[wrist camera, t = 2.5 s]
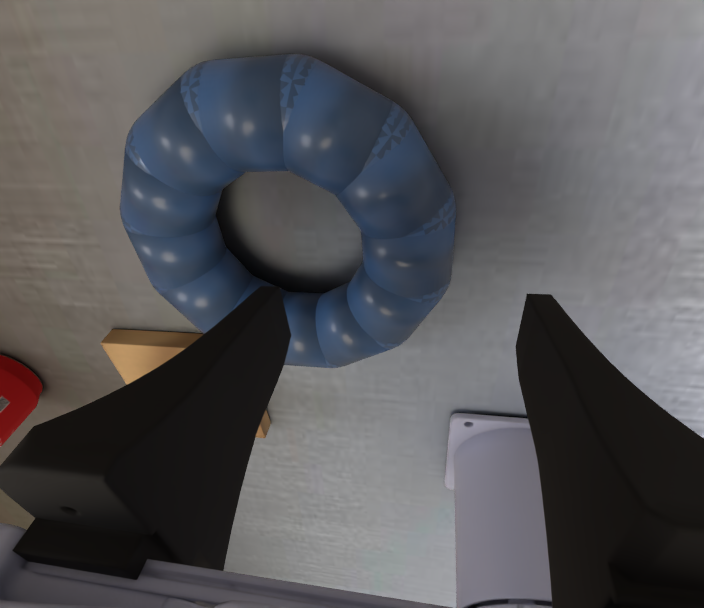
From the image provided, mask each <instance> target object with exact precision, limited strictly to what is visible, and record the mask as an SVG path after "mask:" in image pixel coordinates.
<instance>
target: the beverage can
mask: <svg viewBox="0 0 704 608" xmlns="http://www.w3.org/2000/svg"><path fill="white" fill-rule="evenodd" d="M42 390H43V384H42V382H41V380H40V379H39V377H38V376H37V375H36V374H35V373H34V372H33V371H32V370H31V369H30V368H28V367H27V366H25V365H24V364H22V363H21V362H19V361H17V360H15V359H13V358H11V357H8V356H6V355H2V354H0V447H1V446H2V445H3V443H4V442H5V441H6V440H7V439H8V438H9V437H10V436H11V434H12V433H13V432H14V431H15V430H16V429H17V428H18V427H19V425H20V424H21V423H22V422H23V421H24V420H25V419H26V418H27V416H28V415H29V414H30V413H31V412H32V411H33V410H34V409H35V407H36V406H37V404H38V399H39V396H40V393H41V392H42Z"/></svg>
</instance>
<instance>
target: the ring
mask: <svg viewBox="0 0 704 608" xmlns="http://www.w3.org/2000/svg"><path fill="white" fill-rule="evenodd" d="M267 171H290V172H292V173H294V174H296V175H298V176H300V177H302V178H304V179H306V180H307V181H309V182H311V183H313V184H315V185H317V186H319V187H321V188H323V189H325V190H327V191H329V192H331V193H333V194H335V195H336V197H337V198H338V200H339V201H340V202H341V204H342V205H343V206H344V208H345V209H346V211H347V212H348V213H349V215H350V216H351V217H352V219H353V220H354V222H355V223H356V224H357V226H358V227H359V228H360V230H361V237H362V249H363V262H362V263H361V265H360V267H359V268H358V270H357V272H356V273H355V275H354V277H353V278H352V280H351V281H350V282H348V283H346V284H343V285H341V286H339V287H337V288H335V289H333V290H331V291H329V292H326V293H300V292H287V291H285V290H283V289H281V288H280V291H281V295H282V299H283V303H284V307H285V311H286V315H287V319H288V323H289V327H290V332H291V339H290V343H289V347H288V352H287V355H286V359H285V363H284V365H293V366H308V367H324V368H338V367H342V366H346V365H349V364H351V363H354V362H357V361H360V360H362V359H365V358H368V357H371V356H374V355H376V354H379V353H382V352H385V351H387V350H390V349H393V348H395V347H397V346H399V345H401V344H402V343H403V342H404V341H406V340H407V339H408V338H409V337H410V335H411V334H412V333H413V332H414V330H415V329H416V328H417V327H418V326H419V324H420V323H421V322H422V321H423V320H424V318H425V317H426V316H427V315H428V314H429V312H430V311H431V310H432V309H433V308H434V306H435V305H436V304H437V303H438V302H439V300H440V299H441V298H442V297H443V295H444V294H445V292H446V290H447V288H448V286H449V284H450V280H451V275H452V262H453V248H454V234H455V220H456V203H455V198H454V194H453V191H452V189H451V187H450V185H449V184H448V182H447V180H446V178H445V177H444V175H443V173H442V171H441V170H440V168H439V166H438V164H437V163H436V161H435V159H434V157H433V155H432V154H431V152H430V150H429V148H428V147H427V145H426V143H425V141H424V140H423V138H422V136H421V134H420V133H419V131H418V129H417V127H416V126H415V124H414V122H413V120H412V119H411V117H410V116H409V115H408V113H407V112H406V111H405V110H404V109H403V108H402V107H400V106H399V105H398V104H396V103H395V102H393V101H392V100H390V99H388V98H386V97H385V96H383V95H381V94H379V93H377V92H376V91H374V90H372V89H370V88H369V87H367V86H365V85H363V84H361V83H360V82H358V81H356V80H354V79H352V78H351V77H349V76H347V75H345V74H344V73H342V72H340V71H338V70H336V69H335V68H333V67H331V66H329V65H327V64H326V63H324V62H322V61H320V60H318V59H316V58H314V57H311V56H307V55H303V54H283V55H270V56H256V57H243V58H229V59H215V60H209V61H204V62H201V63H199V64H196V65H194V66H193V67H191V68H190V69H189V70H188V71H186V72H185V73H184V74H183V75H182V76H181V77H180V78H179V79H178V80H177V81H176V82H175V83H174V84H173V85H172V86H171V87H170V88H169V89H167V90H166V91H165V92H164V93H163V94H162V95H161V96H160V97H159V98H158V99H157V100H156V101H155V102H154V103H153V104H152V105H151V106H150V107H149V108H148V109H147V110H146V111H145V112H144V113H143V114H142V115H141V116H140V117H139V118H138V119H137V120H136V122H135V123H134V124H133V126H132V127H131V129H130V131H129V133H128V136H127V140H126V146H125V157H124V168H123V179H122V190H121V202H120V214H121V219H122V222H123V225H124V227H125V230H126V232H127V234H128V236H129V238H130V240H131V242H132V244H133V246H134V248H135V251H136V253H137V255H138V257H139V259H140V261H141V263H142V265H143V267H144V270H145V272H146V274H147V276H148V278H149V280H150V282H151V284H152V285H153V287H154V288H155V289H156V290H157V291H158V292H159V294H161V295H162V296H163V297H164V298H165V299H166V300H167V301H168V302H169V303H170V304H172V305H173V306H174V307H175V308H176V309H177V310H178V311H179V312H180V313H182V314H183V315H184V316H185V317H186V318H187V319H188V320H189V321H190V322H191V323H193V324H194V325H195V326H196V327H197V328H198V329H199V330H200V331H201V332H202V333H204V334H205V333H206V332H207V331H209V330H210V329H211V328H212V327H214V326H215V325H216V324H217V323H218V322H220V321H221V320H222V319H223V318H224V317H225V316H227V315H228V314H229V313H230V312H231V311H232V310H234V309H235V308H236V307H237V306H238V305H239V304H240V303H242V302H243V301H244V300H245V299H246V298H247V297H248V296H250V295H251V294H252V293H253V292H254V291H255V290H257V289H258V288H259V287H260V286H274V285H272V284H270V283H268V282H266V281H263V280H261V279H259V278H257V277H255V276H253V275H252V274H251V273H250V272H249V271H248V270H247V269H246V268H245V267H244V266H243V265H242V264H241V263H240V262H239V260H238V259H237V258H236V257H235V256H234V255H233V254H232V253H231V252H230V251H229V250H228V249H227V248H226V246H225V243H224V240H223V237H222V233H221V230H220V227H219V224H218V221H217V218H216V211H217V208H218V204H219V200H220V197H221V193H222V189H223V188H225V187H226V186H227V185H229V184H230V183H232V182H233V181H234V180H236V179H237V178H238V177H240V176H241V175H243V174H244V173H245V172H267Z"/></svg>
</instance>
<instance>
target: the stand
mask: <svg viewBox="0 0 704 608" xmlns="http://www.w3.org/2000/svg"><path fill="white" fill-rule="evenodd" d="M202 335H204V334H198V333H179V332H160V331H141V330H122V329H112V330H111V331H110V333H109V334H108V335H107V336H106V337H105V338H104V339H103V341H102V342H101V345H102V346H103V348H104V350H105V351H106V353H107V354H108V356H109V357H110V359H111V361H112V362H113V364H114V365H115V367H116V368H117V370H118V372H119V373H120V375H121V376H122V378H123V379H124V381H125V382H126V384H127V385H128V384H129V383H131V382H133V381H135V380H136V379H138V378H140V377H142V376H143V375H145V374H147V373H149V372H150V371H152V370H154V369H155V368H157V367H159V366H160V365H162V364H163V363H165V362H166V361H168V360H169V359H171V358H172V357H174V356H175V355H177V354H178V353H180V352H181V351H183V350H184V349H185V348H187V347H188V346H189V345H191V344H192V343H193V342H195V341H196V340H197V339H198V338H200V337H201V336H202ZM270 424H271V422H270V419H269V416H268V413H267V410H265V413H264V415H263V418H262V420H261V423H260V425H259V428H258V431H257V434H256V437H258V438H266V435H267V432H268V429H269V427H270Z"/></svg>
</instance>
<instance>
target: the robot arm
mask: <svg viewBox="0 0 704 608" xmlns="http://www.w3.org/2000/svg"><path fill="white" fill-rule="evenodd" d="M290 339H291V332H290V327H289V323H288V319H287V315H286V311H285V307H284V303H283V299H282V295H281V291H280V287H277V286H260V287H259V288H258V289H257V290H255V291H254V292H253V293H252V294H251V295H250V296H248V297H247V298H246V299H245V300H244V301H243V302H242V303H240V304H239V305H238V306H237V307H236V308H235V309H234V310H232V311H231V312H230V313H229V314H228V315H227V316H225V317H224V318H223V319H222V320H221V321H220V322H218V323H217V324H216V325H215V326H214V327H212V328H211V329H210V330H209V331H207V332H206V333H205V334H204V335H202V336H201V337H200V338H198V339H197V340H196V341H195V342H193V343H192V344H191V345H189V346H188V347H187V348H185V349H184V350H183V351H181V352H180V353H178V354H177V355H175V356H174V357H172V358H171V359H169V360H168V361H166V362H165V363H163V364H162V365H160V366H159V367H157V368H155V369H154V370H152V371H150V372H149V373H147V374H145V375H143V376H142V377H140V378H138V379H136V380H135V381H133V382H131V383H129V384H128V385H126V386H124V387H122V388H120V389H118V390H116V391H114V392H112V393H110V394H108V395H106V396H104V397H102V398H100V399H98V400H96V401H94V402H92V403H89V404H87V405H85V406H83V407H81V408H78V409H76V410H74V411H71V412H69V413H66V414H64V415H61V416H59V417H56V418H54V419H52V420H49V421H47V422H44V423H42V424H39V425H36V426H34V427H33V428H32V429H31V430H30V431H29V433H28V434H27V435H26V436H25V437H24V439H23V440H22V441H21V442H20V443H19V444H18V446H17V447H16V448H15V449H14V450H13V451H12V453H11V454H10V455H9V456H8V457H7V458H6V460H5V461H4V462H3V463H2V464H1V466H0V488H1V489H2V490H3V491H4V492H5V493H6V494H7V495H8V496H9V497H10V498H12V499H13V500H14V501H15V502H17V503H18V504H19V505H20V506H21V507H23V508H24V509H25V510H26V511H28V512H29V513H30V514H31V515H32V516H34V517H35V520H34V521H33V522H32V524H31V525H30V527H29V528H28V529H27V530H25V529H23V528H21V527H18V526H15V525H11V524H4V523H0V608H451V607H445V606H439V605H432V604H426V603H420V602H414V601H407V600H401V599H395V598H389V597H382V596H376V595H370V594H364V593H357V592H351V591H345V590H339V589H332V588H326V587H320V586H314V585H307V584H301V583H295V582H288V581H282V580H276V579H270V578H263V577H257V576H251V575H245V574H238V573H232V572H226V571H223V569H224V564H225V559H226V554H227V549H228V544H229V539H230V534H231V530H232V525H233V521H234V517H235V512H236V508H237V504H238V499H239V495H240V491H241V487H242V484H243V480H244V476H245V472H246V468H247V464H248V461H249V457H250V454H251V451H252V447H253V444H254V440H255V437H256V434H257V431H258V428H259V425H260V423H261V420H262V418H263V415H264V413H265V410H266V408H267V406H268V403H269V401H270V398H271V396H272V393H273V391H274V388H275V386H276V383H277V381H278V378H279V376H280V373H281V371H282V368H283V366H284V363H285V359H286V355H287V352H288V347H289V343H290ZM516 356H517V366H518V376H519V382H520V386H521V390H522V395H523V399H524V403H525V408H526V412H527V416H528V418H516V417H503V416H491V415H478V414H466V413H456V414H453V415H452V416H451V418H450V427H449V438H448V448H447V459H446V469H445V480H444V485H445V487H446V488H448V489H451V490H454V492H455V542H456V593H457V608H704V438H702V437H701V436H699V435H698V434H696V433H695V432H694V431H692V430H691V429H689V428H688V427H687V426H685V425H684V424H683V423H681V422H680V421H679V420H677V419H676V418H674V417H673V416H672V415H670V414H669V413H668V412H666V411H665V410H664V409H663V408H661V407H660V406H659V405H658V404H656V403H655V402H654V401H653V400H652V399H650V398H649V397H648V396H647V395H646V394H644V393H643V392H642V391H641V390H640V389H638V388H637V387H636V386H635V385H634V384H633V383H632V382H630V381H629V380H628V379H627V378H626V377H625V376H624V375H623V374H622V373H621V372H620V371H619V370H618V369H617V368H616V367H615V366H614V365H612V364H611V363H610V362H609V361H608V359H607V358H606V357H605V356H604V355H603V354H602V353H601V352H600V351H599V350H598V349H597V348H596V347H595V346H594V345H593V343H592V342H591V341H590V340H589V339H588V338H587V337H586V336H585V335H584V333H583V332H582V331H581V330H580V329H579V328H578V327H577V325H576V324H575V323H574V322H573V321H572V319H571V318H570V317H569V316H568V315H567V313H566V312H565V311H564V310H563V308H562V307H561V306H560V305H559V304H558V302H557V301H556V300H555V299H554V298H553V296H552V295H550V294H527V297H526V301H525V306H524V311H523V315H522V320H521V324H520V329H519V334H518V338H517V343H516Z"/></svg>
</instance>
